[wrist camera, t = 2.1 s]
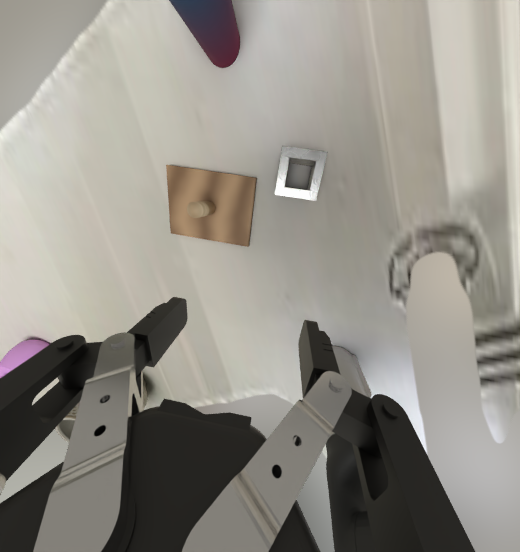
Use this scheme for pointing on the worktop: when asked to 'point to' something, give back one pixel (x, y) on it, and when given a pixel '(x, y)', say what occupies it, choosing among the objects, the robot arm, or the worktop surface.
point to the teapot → (20, 354)
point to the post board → (223, 198)
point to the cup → (212, 28)
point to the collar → (301, 158)
